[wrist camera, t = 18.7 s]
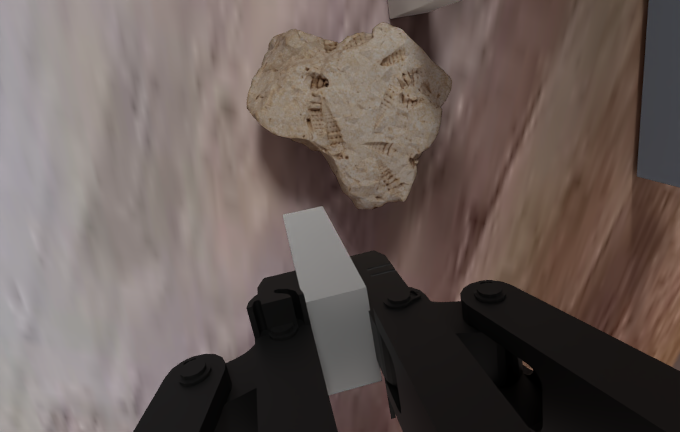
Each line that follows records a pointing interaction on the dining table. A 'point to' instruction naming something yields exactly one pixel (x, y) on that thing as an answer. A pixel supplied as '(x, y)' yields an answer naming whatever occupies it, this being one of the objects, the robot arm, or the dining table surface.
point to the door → (661, 96)
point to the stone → (354, 106)
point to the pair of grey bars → (415, 7)
